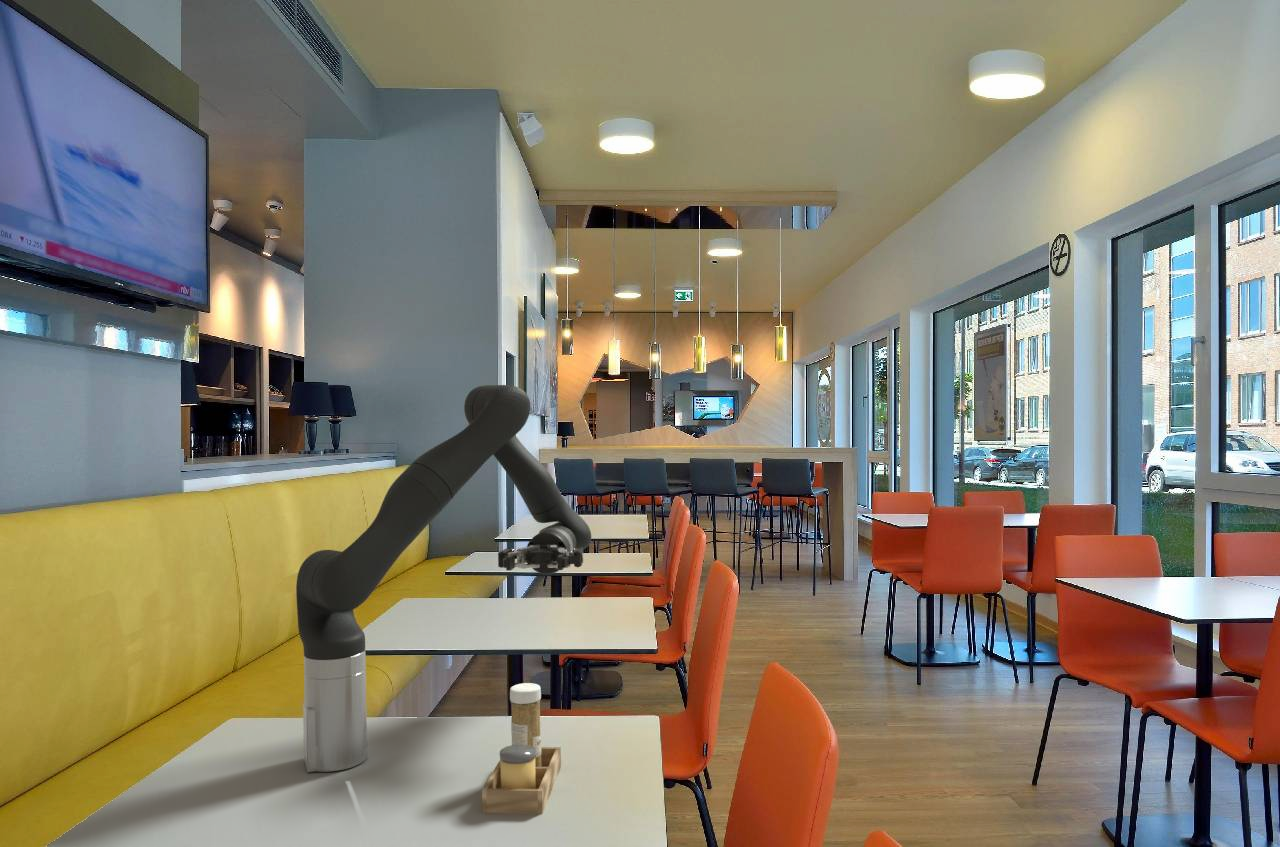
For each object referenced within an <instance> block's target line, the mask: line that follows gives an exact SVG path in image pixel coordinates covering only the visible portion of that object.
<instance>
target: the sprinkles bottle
mask: <svg viewBox="0 0 1280 847" xmlns="http://www.w3.org/2000/svg"><path fill="white" fill-rule="evenodd" d="M509 689H510V690H509V700H510V705H511V722H510V724H511V725H510V726H511V745H518V744H524V745H530V746H533V747H535V749H536V757H535V767H542V766H541V747H542V729H541V726H542V725H541V724H542V723H541V709H540V708H541V705H540V704H541V698H542V691H541V690H542V689H541V686H540V685H539V684H537V683H532V682H524V683H523V682H522V683H518V684H517V683H516V684H515V685H513V686H511V687H510V688H509Z"/></svg>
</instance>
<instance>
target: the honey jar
mask: <svg viewBox="0 0 1280 847" xmlns="http://www.w3.org/2000/svg"><path fill="white" fill-rule="evenodd" d="M535 757H536V749H535V747H533V746H530V745H524V744H518V745H512V744H511V745H508V746H505V747H503V748H501V749H500V751H499V761H500V760H501V789H536V771H535Z"/></svg>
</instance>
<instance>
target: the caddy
mask: <svg viewBox="0 0 1280 847" xmlns="http://www.w3.org/2000/svg"><path fill="white" fill-rule="evenodd" d="M541 766H542V767H535V771H536V789H501V760H500V759H499V761H498V762H497V763H496V766H495V768H494V769H493V771H492V772H491V774H490V775H489V777H488V780H487V781H486V782H485V785H484V786H483V787H482V790H481V801H482V802H481V811H482V814H528V815H529V814H533V815H534V814H535V815H536V814H538V815H541V814H542V815H543V813H544V811H545V808H546V806H547V804H548V800H549V798H550V795H551V793H552V791H553V789H554V786H555V784H556V781H557V778H558V776H559V774H560V771H561V768H562V750H561V747H560V746H558V747H557V746H556V747H555V746H553V747H552V746H545V747H544V746H541Z"/></svg>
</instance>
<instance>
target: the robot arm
mask: <svg viewBox="0 0 1280 847" xmlns="http://www.w3.org/2000/svg"><path fill="white" fill-rule="evenodd" d="M463 408H464V409H463V410H464V415H465V419H466V421H467V423H468V424H467V426H466V427H465V428H464V429H463V430H461V431H460V432H459V433H457V434H455V435H454V436H452V437H449V438H448V439H447V440H445V441H443V442H440V443H438V444H437V445H435V446H434V447H432V448H431V449H429V450H427V451H426V452H424V453H422V454H421V455H420V456H419V457H417V458H416V459H415V460H413V462H412V463H410V465H408V467H406V469H404V471H403V472H401V474H400V475H399V476H398V477H397V478H395V480H394V481H393V482H392V483H391V485H390V487H389V488H388V490H387V492H386V494H385V496H384V498H383V500H382V503H381V505H380V508H379V511H378V513H377V515H376V516H375V518H374V520H373V521H372V522H371V524H370V525H369V527H368V528H366V530H364V532H363V533H361V535H360V536H359V537H358V538H357V539H355V541H353V542H352V543H351V544H350V545H348V546H347V548H345V549H344V550H343V551H340V550H334V549H333V550H332V549H322V550H318V551H317V550H316V551H315V552H313V553H312V554H310V555H309V556H307V557H306V558H305V559H304V560H303V562H302V564H301V565H300V567H299V570H298V573H297V577H296V588H295V591H296V592H295V595H296V611H297V612H296V613H297V628H298V634H299V638H300V640H301V642H302V647H303V680H304V681H303V682H304V683H303V688H304V692H303V693H304V699H303V702H302V710H303V711H302V713H303V714H302V716H303V717H302V721H303V723H302V724H303V727H302V728H303V761H304V764H305V768H306V772H307V773H313V772H322V773H323V772H324V773H326V772H327V773H329V772H337V771H342V770H347V769H350V768H353V767H357V766H359V765H361V764H362V763H363V762H365V761H366V759H367V758H368V736H367V734H368V732H367V731H368V730H367V724H368V723H367V677H366V676H367V674H366V673H367V671H366V664H367V663H366V636H365V635H366V634H365V632H364V631H363V629H362V628H361V627H360V624H358V622H357V619H356V617H355V614H354V613H355V612H354V610H355V609H357V608H359V606H361V605H362V604H363V603H365V601H367V599H368V598H369V597H370V596H371V594H372V593H373V592H374V591H375V589H376V588H377V587H378V585H379V584H380V583H381V581H382V580H383V579H384V578H385V576H386V575H387V573H388V572H389V571H390V569H391V568H392V566H394V564H395V562H397V560H398V559H399V557H400V556H401V555H402V554H403V552H405V551H406V550H407V548H408V547H410V545H411V544H412V543H413V542H414V541H415V540H416V538H417V537H418V536H419V535H420V534H421V533H422V532H423V530H425V529H426V527H427V526H428V525H429V524H430V523H431V522H432V521H433V520H434V519H435V518H436V517H437V516H438V515H439V514H440V513H441V511H442V510H443V509H445V508H446V507H447V505H448V504H449V503H450V502H451V501H452V499H454V497H455V496H456V495H457V493H459V491H460V490H461V489H462V488H463V487H464V486H465V485H466V484H467V483H468V481H470V480H471V478H472V477H474V475H475V474H476V473H477V472H478V470H480V468H482V466H483V465H484V464H485V463H486V462H487V461H488V460H489V459H490V458H491V457H492V456H494V457H495V459H496V460H497V462H498V463H499V464H500V466H501V467H502V468H503V470H504V471H505V472H506V474H507V475H508V476H509V478H510V480H511V481H512V483H513V485H515V488H516V489H517V492H518V493H519V495H520V496H521V498H522V500H523V501H524V504H525V506H526V507H527V509H528V511H529V513H530V515H531V516H532V518H533V519H534V521H536V522H537V523H540V524H548V523H553V524H550V525H548V526H546V527H544V528H542V529H540V530H539V532H538V533H537V534H536V535H534V536H533V537H532V538H530V540H529V541H528V543H527V545H526V546H525V547H518V548H517V550H516V551H515V550H514V548H513V547H506V548H504V549H502V550H500V551H498V552H497V568H499V569H502V568H504V569H506V571H512V570H514V569H515V568H518V569H530V568H531V569H532V570H533V571H535V572H536V573H539V574H541V575H554V574H555V573H558V572H559V571H563V570H564V569H569V568H571V565H574V567H575V568H580V567H582V566H583V564H584V550H585V549H586V548H588V547H589V546H590V545H591V541H592V533H591V532H592V531H591V529H590V527H589V525H588V524H587V522H586V521H585V520H584V519H583V518H582V517H581V516H580V515H579V514H578V513H577V512H576V511H575V510H574V509H573V508H572V507H571V506H570V505H569V504H568V503H567V501H566V500H565V498H564V496H563V495H562V493H561V491H560V489H559V487H558V486H557V484H556V482H555V480H554V478H553V477H552V474H550V472H549V471H548V469H546V467H545V466H544V465H543V464H542V463H541V461H539V460H538V459H537V458H536V457H535V456H534V455H533V454H532V453H531V452H530V451H529V450H528V449H527V448H526V447H525V445H523V443H522V442H521V441H520V439H519V438H518V437H517V434H518V433H519V432H520V431H521V430H522V429H523V427H524V426H525V425H526V423H527V422H528V419H529V416H530V413H531V402H530V397H529V395H528V394H527V393H526V391H525V390H523V389H522V388H521V387H518V386H514V385H510V384H488V385H479V386H477V387H475V388H473V389H472V390H470V391H469V392H468V394H467V395H466V397H465V401H464V406H463Z"/></svg>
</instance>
